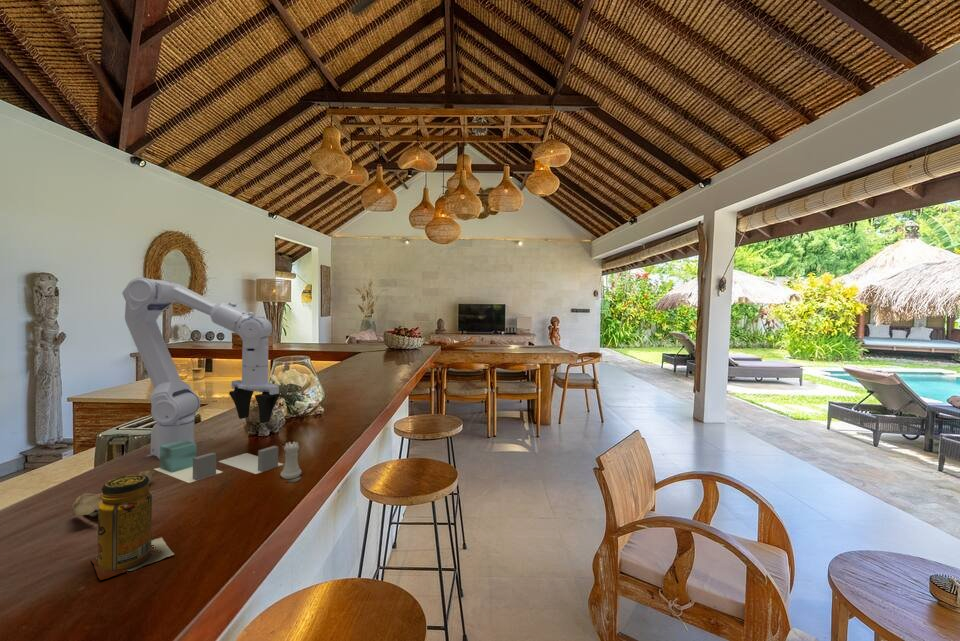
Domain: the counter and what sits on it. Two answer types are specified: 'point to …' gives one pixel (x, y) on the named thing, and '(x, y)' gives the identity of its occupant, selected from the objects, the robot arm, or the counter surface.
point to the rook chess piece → (291, 463)
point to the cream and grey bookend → (255, 460)
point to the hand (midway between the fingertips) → (254, 420)
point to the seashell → (95, 500)
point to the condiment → (127, 525)
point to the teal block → (177, 455)
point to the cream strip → (196, 469)
